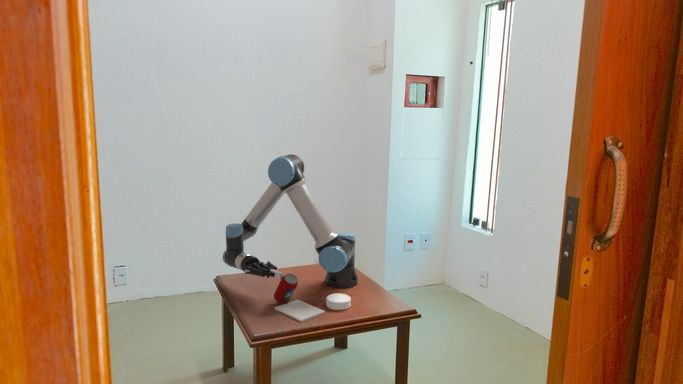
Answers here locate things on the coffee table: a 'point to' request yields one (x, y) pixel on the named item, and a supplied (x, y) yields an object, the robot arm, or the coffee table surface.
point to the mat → (299, 310)
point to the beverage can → (286, 288)
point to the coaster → (338, 301)
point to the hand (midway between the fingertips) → (281, 276)
